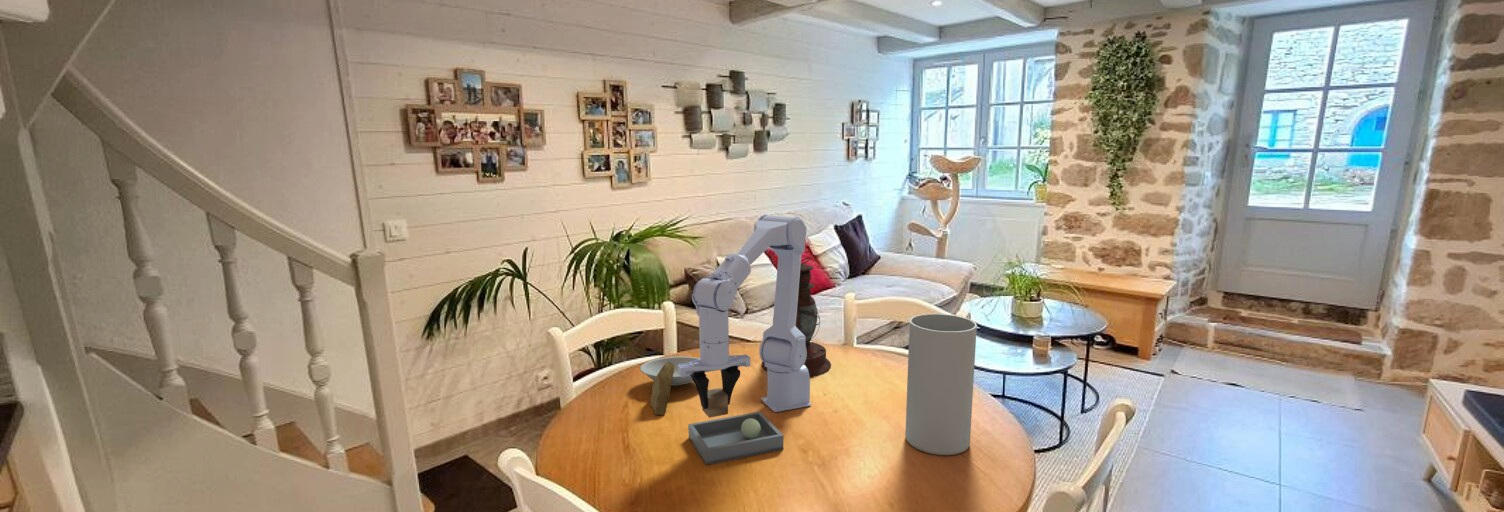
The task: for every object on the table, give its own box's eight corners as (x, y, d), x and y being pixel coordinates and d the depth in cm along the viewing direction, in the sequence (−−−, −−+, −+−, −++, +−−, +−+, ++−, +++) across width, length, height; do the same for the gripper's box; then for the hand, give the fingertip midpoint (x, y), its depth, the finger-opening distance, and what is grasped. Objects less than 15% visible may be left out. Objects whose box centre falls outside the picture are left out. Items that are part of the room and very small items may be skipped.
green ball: (752, 431, 129) (752, 413, 128) (764, 438, 126) (764, 420, 125) (737, 436, 126) (737, 418, 125) (749, 444, 123) (749, 425, 122)
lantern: (764, 352, 179) (763, 250, 174) (830, 354, 177) (831, 251, 172) (758, 376, 161) (757, 263, 155) (832, 378, 159) (833, 264, 153)
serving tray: (760, 424, 133) (760, 411, 133) (783, 449, 122) (783, 435, 122) (688, 437, 127) (688, 424, 127) (706, 465, 116) (705, 450, 116)
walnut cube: (720, 406, 126) (720, 387, 125) (728, 414, 122) (727, 395, 122) (702, 409, 124) (701, 391, 124) (709, 417, 121) (708, 398, 120)
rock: (673, 409, 136) (693, 387, 144) (649, 379, 135) (671, 358, 144) (642, 429, 141) (663, 406, 149) (619, 400, 140) (642, 378, 149)
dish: (711, 373, 163) (710, 355, 162) (711, 394, 149) (710, 375, 148) (644, 375, 162) (643, 357, 161) (637, 397, 148) (636, 377, 147)
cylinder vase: (936, 463, 116) (942, 335, 112) (892, 435, 127) (896, 319, 123) (983, 447, 122) (991, 326, 118) (937, 423, 133) (943, 310, 129)
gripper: (740, 329, 127) (741, 391, 129) (672, 338, 121) (674, 403, 124) (754, 338, 121) (754, 404, 123) (683, 349, 115) (685, 417, 117)
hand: (715, 405), depth 123 cm, fingers closed on walnut cube, 4 cm apart
